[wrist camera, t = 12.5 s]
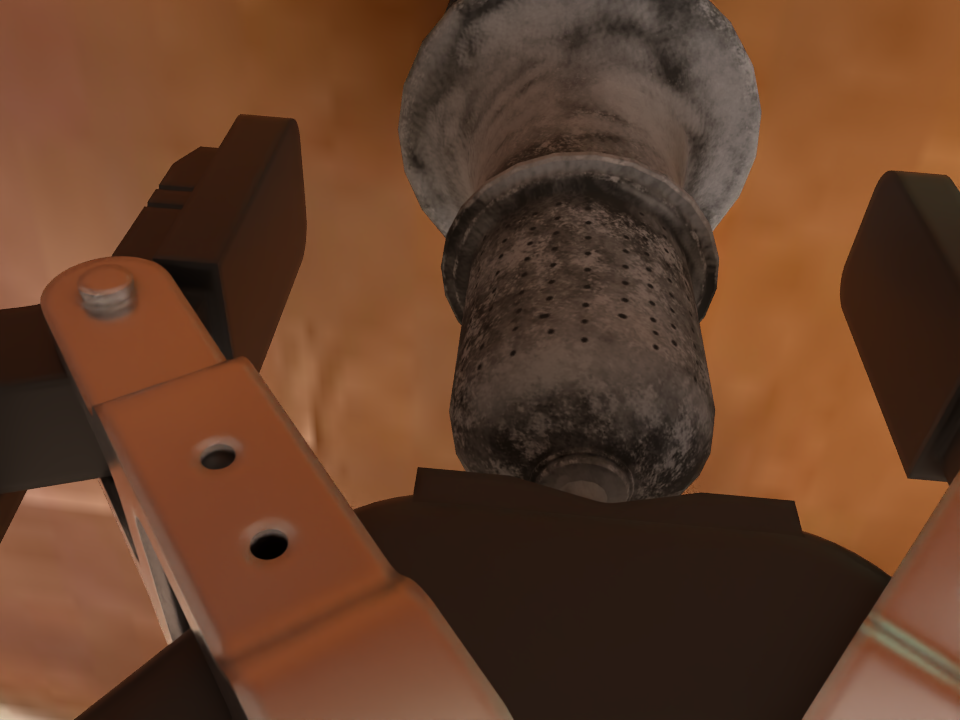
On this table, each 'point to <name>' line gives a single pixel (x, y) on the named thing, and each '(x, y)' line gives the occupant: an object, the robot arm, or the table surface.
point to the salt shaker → (581, 229)
